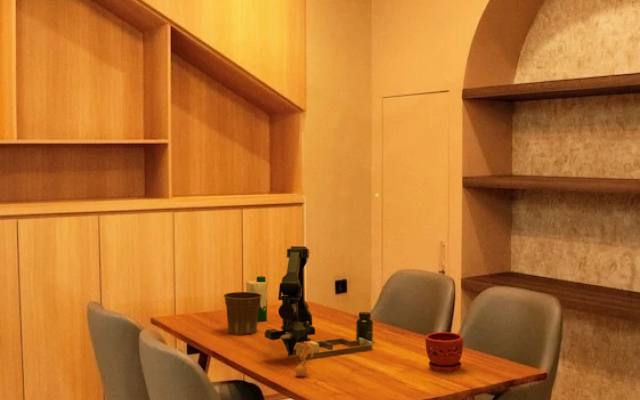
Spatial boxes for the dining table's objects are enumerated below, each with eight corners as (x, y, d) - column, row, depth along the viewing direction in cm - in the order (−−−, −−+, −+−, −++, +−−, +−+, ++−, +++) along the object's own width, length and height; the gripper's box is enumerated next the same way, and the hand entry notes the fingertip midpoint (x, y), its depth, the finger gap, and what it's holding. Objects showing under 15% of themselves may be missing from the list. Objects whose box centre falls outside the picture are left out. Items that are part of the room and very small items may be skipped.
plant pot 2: (437, 361, 286) (437, 329, 285) (469, 368, 278) (469, 335, 277) (418, 369, 276) (418, 336, 275) (450, 376, 268) (451, 342, 267)
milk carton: (269, 321, 353) (269, 278, 352) (250, 323, 350) (250, 279, 348) (262, 317, 361) (262, 275, 360) (244, 319, 358) (244, 276, 356)
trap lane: (280, 351, 300) (280, 344, 299) (351, 341, 316) (352, 334, 316) (299, 361, 286) (299, 353, 286) (372, 349, 303) (372, 342, 303)
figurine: (288, 375, 268) (288, 340, 268) (301, 371, 272) (301, 338, 272) (304, 380, 262) (304, 345, 262) (317, 376, 266) (317, 342, 266)
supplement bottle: (371, 344, 312) (371, 314, 311) (354, 343, 313) (355, 314, 312) (373, 340, 319) (374, 311, 318) (357, 339, 320) (357, 310, 319)
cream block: (296, 356, 294) (296, 343, 293) (312, 353, 297) (312, 340, 297) (303, 359, 289) (303, 346, 289) (318, 356, 293) (319, 343, 293)
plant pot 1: (264, 328, 340) (264, 292, 339) (258, 337, 324) (258, 298, 323) (228, 327, 341) (228, 291, 340) (220, 336, 325) (219, 298, 324)
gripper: (277, 320, 277) (277, 363, 278) (322, 315, 286) (322, 356, 287) (264, 314, 287) (264, 356, 288) (308, 309, 296) (308, 349, 297)
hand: (290, 354), depth 290 cm, fingers closed
